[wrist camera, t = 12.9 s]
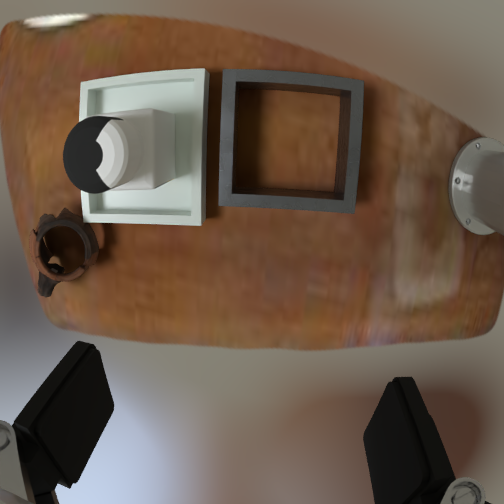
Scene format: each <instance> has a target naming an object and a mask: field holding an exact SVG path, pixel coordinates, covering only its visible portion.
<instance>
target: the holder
mask: <svg viewBox="0 0 504 504" xmlns="http://www.w3.org/2000/svg"><path fill="white" fill-rule="evenodd" d="M239 89H265V90H282V91H296V92H307V93H317V94H326V95H334V96H340V116H339V134H338V149H337V163H336V175H335V187H334V192H322V191H308V190H294V189H277V188H258V187H236V161H237V134H238V109H239ZM363 97H364V81H362V80H356V79H350V78H343V77H336V76H329V75H320V74H311V73H301V72H289V71H274V70H250V69H223V81H222V103H221V129H220V161H219V206H235V207H258V208H277V209H294V210H310V211H325V212H338V213H351V214H354V212H355V204H356V195H357V185H358V175H359V163H360V151H361V137H362V120H363Z"/></svg>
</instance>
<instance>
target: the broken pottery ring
mask: <svg viewBox="0 0 504 504" xmlns="http://www.w3.org/2000/svg"><path fill="white" fill-rule="evenodd" d="M57 226H67V227H70V228H72V229H74V230H75V231H76V232H77V233H78V234H79V235H80V237H81V238H82V240H83V242H84V246H85V259H86V260H85V262H84V263H83V265H81V266H79V268H77V269H76V270H75V271H73V272H71V273H67V274H64V273H63V272H64V270H65V269H64V267H62V266H60V265H58V264H56V263H55V264H49V263H48V262H49V260H50V258H51V257H52V256H53V254H52V253H51V252H50V251H49V250H48V248H47V247H46V245H45V242H44V240H43V237H44V235H45V234H46V232H48V231H49V230H50V229H52V228H54V227H57ZM29 248H30V254H31V257H32V260H33V262H34V263H35V264H36V267H37V268H38V270H39V281H38V293H39V294H40V295H41V296H44V297H50V296H51V294H52V291H53V289H54V287H55V285H56V284H57V283H59V282H61V281H71V280H74V279H76V278H78V277H80V276H81V275H82V274H83V273H84V272H85V271H86V270H87V269H88V268H89V266H91V265H94V263H95V261H96V259H97V257H98V253H99V251H98V250H99V246H98V242H97V239H96V236H95V234H94V231H93V230H92V228H91V226H90V225H89V223H85V222H83V218H81V217H80V216H77V215H75V214H73V213H72V212H70V211H69V210H68V209H67V208H64V209H63V210H62V211H61V213H60V214H59V216H58V217H57V218H55V217H54V216H53V215H47V214H44V215H43V216H41V217H40V221H39V222H38V225H37V227H36V229H35V230H34V229H33V230H32V231H31V234H30V239H29Z"/></svg>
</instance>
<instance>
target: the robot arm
mask: <svg viewBox="0 0 504 504" xmlns="http://www.w3.org/2000/svg"><path fill="white" fill-rule="evenodd" d="M449 198H450V203H451V207H452V210H453V212H454V215H455V217H456V218H457V220H458V221H459V223H460V224H461V225H462V226H463V227H464V228H466V229H467V230H469V231H471V232H473V233H475V234H479V235H487V234H491V233H493V232H498V233H500V234H502V235H503V236H504V145H503V144H502V143H501V142H499V141H497V140H495V139H492V138H487V137H479V138H475V139H473V140H471V141H469V142H467V143H466V144H465V145H464V146H463V147H462V148H461V149H460V151H459V152H458V154H457V155H456V157H455V160H454V162H453V164H452V168H451V171H450V177H449ZM113 410H114V402H113V398H112V395H111V392H110V388H109V385H108V381H107V378H106V374H105V371H104V367H103V363H102V359H101V355H100V352H99V350H97V349H96V347H95V346H94V344H90V343H85V342H82V341H77V342H76V343H75V344H74V345H73V347H72V348H71V349H70V350H69V351H68V353H67V354H66V355H65V356H64V357H63V359H62V360H61V361H60V363H59V364H58V365H57V366H56V367H55V368H54V370H53V371H52V372H51V373H50V375H49V376H48V377H47V379H46V380H45V381H44V382H43V384H42V385H41V386H40V387H39V389H38V390H37V391H36V393H35V394H34V395H33V397H32V398H31V399H30V401H29V402H28V403H27V404H26V406H25V407H24V408H23V410H22V411H21V413H20V414H19V415H18V417H17V418H16V419H15V421H14V424H13V425H12V426H11V425H10V424H9V423H7V422H5V421H2V420H0V504H59V502H58V499H57V495H56V493H55V488H56V486H57V484H61V485H63V486H65V487H67V488H69V489H70V488H71V486H72V484H73V483H76V482H78V480H79V478H80V476H81V474H82V472H83V470H84V468H85V466H86V464H87V462H88V460H89V458H90V456H91V454H92V452H93V450H94V448H95V446H96V444H97V442H98V440H99V438H100V436H101V434H102V432H103V430H104V428H105V427H106V424H107V423H108V420H109V419H110V417H111V415H112V413H113ZM363 440H364V446H365V451H366V456H367V462H368V466H369V472H370V477H371V483H372V489H373V495H374V501H375V504H491V503H489V502H486V501H485V498H486V497H485V491H484V489H483V487H482V485H481V484H480V483H479V482H478V481H476V480H474V479H472V478H468V477H464V478H459V479H456V478H455V476H454V473H453V470H452V467H451V464H450V462H449V459H448V456H447V454H446V451H445V448H444V446H443V443H442V441H441V438H440V436H439V433H438V431H437V428H436V426H435V423H434V421H433V419H432V417H431V415H429V413H428V411H427V408H426V406H425V404H424V401H423V399H422V397H421V394H420V392H419V390H418V388H417V386H416V383H415V381H414V379H413V378H412V377H395V378H394V379H393V381H392V382H389V383H388V384H387V386H386V388H385V391H384V393H383V395H382V397H381V399H380V401H379V404H378V406H377V408H376V410H375V412H374V414H373V416H372V418H371V420H370V422H369V424H368V426H367V428H366V430H365V432H364V437H363Z"/></svg>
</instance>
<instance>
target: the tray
mask: <svg viewBox="0 0 504 504" xmlns="http://www.w3.org/2000/svg"><path fill="white" fill-rule="evenodd" d="M209 76H210V74H209V72H208V71H207V70H206V69H205V68H203V69H181V70H167V71H155V72H146V73H137V74H129V75H121V76H114V77H108V78H102V79H96V80H91V81H85V82H81V91H80V113H79V122H80V121H82V120H84V118H85V117H87V116H91V115H98V114H105V113H112V112H120V111H128V110H137V109H148V108H153V109H158V110H162V111H166V112H170V113H174V114H175V178H174V179H173V180H171V181H169V182H167V183H165V184H163V185H161V186H159V187H157V188H155V189H153V190H118V191H105V192H103V193H98V194H92V193H87V192H84V191H82V190H81V199H82V211H83V222H95V223H137V224H169V225H197V226H201V225H202V224H203V222H204V221H205V219H206V157H207V122H208V97H209Z"/></svg>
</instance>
